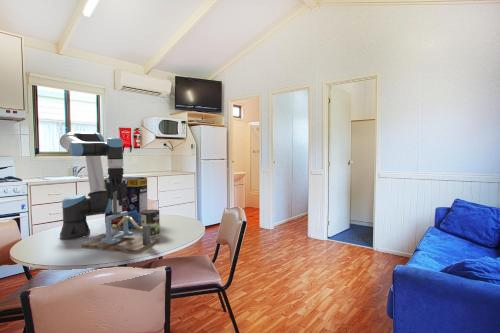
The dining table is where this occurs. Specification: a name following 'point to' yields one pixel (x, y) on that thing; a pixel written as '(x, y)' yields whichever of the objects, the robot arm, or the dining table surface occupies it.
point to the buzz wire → (144, 229)
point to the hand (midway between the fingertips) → (117, 211)
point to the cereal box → (132, 197)
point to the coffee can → (151, 221)
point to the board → (120, 244)
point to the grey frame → (108, 223)
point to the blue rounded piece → (134, 218)
